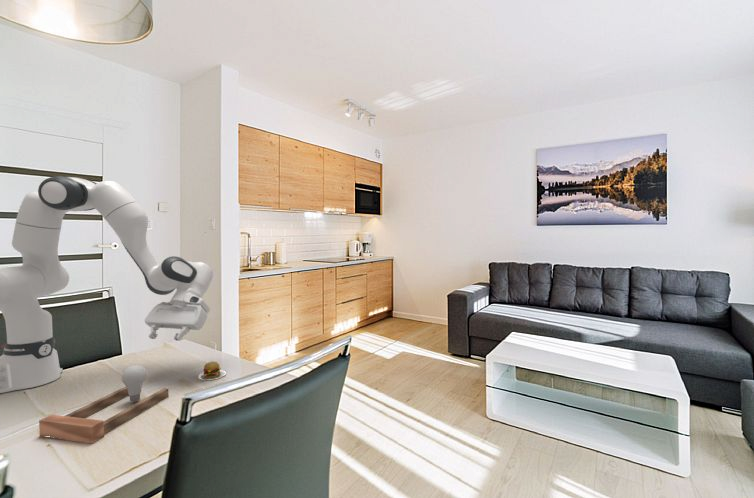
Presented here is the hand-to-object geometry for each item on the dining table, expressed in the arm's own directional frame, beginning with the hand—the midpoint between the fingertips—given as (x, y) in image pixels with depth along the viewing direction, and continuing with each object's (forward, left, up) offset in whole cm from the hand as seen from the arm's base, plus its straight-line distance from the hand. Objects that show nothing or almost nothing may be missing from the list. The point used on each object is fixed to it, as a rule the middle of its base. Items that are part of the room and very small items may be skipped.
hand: (164, 338), depth 119 cm
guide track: (0, -19, -15) cm, 25 cm away
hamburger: (+10, +10, -16) cm, 22 cm away
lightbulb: (0, -12, -16) cm, 20 cm away
